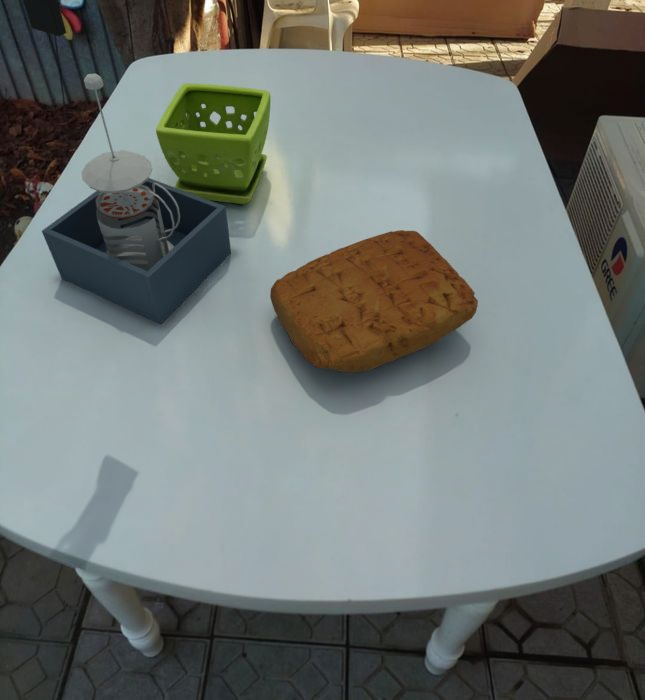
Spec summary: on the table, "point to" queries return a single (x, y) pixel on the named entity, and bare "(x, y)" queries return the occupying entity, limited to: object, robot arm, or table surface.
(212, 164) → the flower pot
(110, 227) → the french press
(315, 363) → the inscribed clay slab
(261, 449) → the table surface
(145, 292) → the tub
